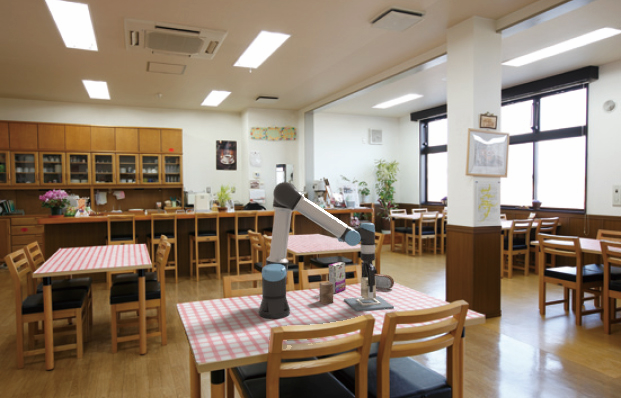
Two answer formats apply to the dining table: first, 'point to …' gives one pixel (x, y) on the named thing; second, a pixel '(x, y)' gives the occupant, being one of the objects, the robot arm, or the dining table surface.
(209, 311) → the dining table surface
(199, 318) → the dining table surface
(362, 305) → the square frame
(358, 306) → the baseboard
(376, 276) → the tin
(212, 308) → the dining table surface
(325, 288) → the walnut block
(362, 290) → the birch block
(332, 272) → the candy bar box
